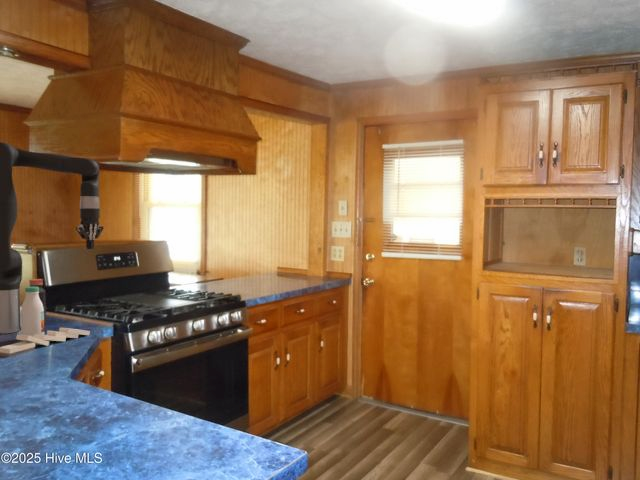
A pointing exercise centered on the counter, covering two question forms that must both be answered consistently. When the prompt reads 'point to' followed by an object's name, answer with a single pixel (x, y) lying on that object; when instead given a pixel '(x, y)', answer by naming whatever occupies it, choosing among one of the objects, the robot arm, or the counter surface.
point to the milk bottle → (32, 313)
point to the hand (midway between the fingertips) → (90, 249)
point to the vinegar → (40, 293)
